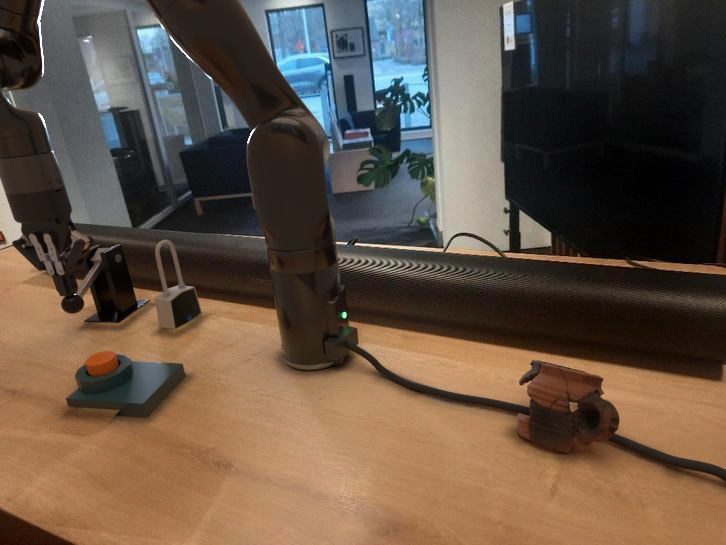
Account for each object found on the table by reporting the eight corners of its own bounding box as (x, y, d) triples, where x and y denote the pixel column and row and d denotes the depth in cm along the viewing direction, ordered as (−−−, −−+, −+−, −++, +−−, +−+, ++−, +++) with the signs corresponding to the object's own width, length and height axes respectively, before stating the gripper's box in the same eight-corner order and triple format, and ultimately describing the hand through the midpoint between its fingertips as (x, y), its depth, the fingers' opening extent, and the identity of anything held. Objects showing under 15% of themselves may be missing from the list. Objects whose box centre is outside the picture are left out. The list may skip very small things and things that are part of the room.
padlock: (187, 314, 88) (168, 233, 82) (205, 317, 86) (187, 234, 80) (158, 331, 82) (136, 246, 77) (177, 335, 80) (156, 247, 75)
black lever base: (120, 328, 84) (100, 257, 80) (85, 326, 86) (63, 257, 81) (151, 305, 93) (135, 240, 88) (119, 304, 94) (101, 240, 89)
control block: (186, 376, 68) (179, 351, 67) (147, 418, 60) (139, 391, 59) (112, 372, 71) (104, 348, 69) (65, 412, 63) (55, 385, 61)
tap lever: (81, 318, 78) (69, 305, 76) (64, 317, 79) (52, 305, 77) (120, 259, 87) (110, 246, 85) (104, 259, 88) (94, 246, 85)
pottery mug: (491, 425, 55) (506, 352, 56) (550, 433, 59) (564, 365, 60) (580, 468, 44) (598, 377, 45) (646, 474, 48) (662, 391, 49)
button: (124, 362, 66) (121, 351, 65) (106, 377, 63) (102, 366, 62) (101, 361, 67) (97, 350, 66) (82, 376, 64) (78, 364, 63)
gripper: (-26, 193, 70) (14, 304, 76) (53, 190, 67) (88, 305, 73) (18, 182, 77) (52, 284, 83) (92, 179, 74) (121, 285, 80)
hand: (69, 294), depth 78 cm, fingers closed
